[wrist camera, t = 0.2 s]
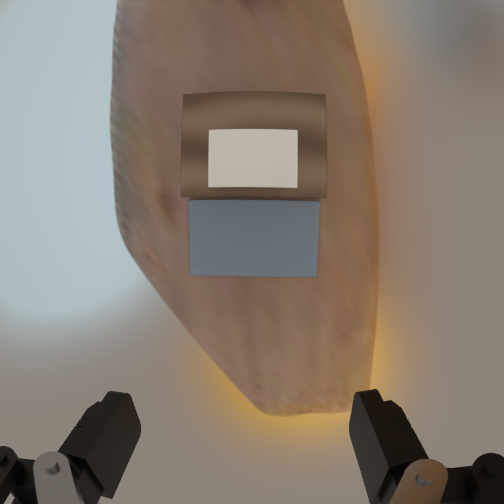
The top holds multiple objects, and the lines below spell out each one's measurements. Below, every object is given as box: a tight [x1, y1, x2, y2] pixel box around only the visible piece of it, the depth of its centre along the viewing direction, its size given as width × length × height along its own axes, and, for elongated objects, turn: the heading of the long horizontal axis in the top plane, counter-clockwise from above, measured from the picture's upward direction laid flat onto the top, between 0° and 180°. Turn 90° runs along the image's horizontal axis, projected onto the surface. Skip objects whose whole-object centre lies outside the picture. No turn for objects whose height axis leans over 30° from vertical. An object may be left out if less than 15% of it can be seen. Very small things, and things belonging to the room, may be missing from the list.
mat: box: [189, 200, 320, 277], centre depth 37 cm, size 10×16×1 cm, turn 90°
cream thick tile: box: [208, 129, 298, 188], centre depth 31 cm, size 6×9×2 cm, turn 90°
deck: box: [181, 91, 326, 198], centre depth 33 cm, size 12×16×4 cm
